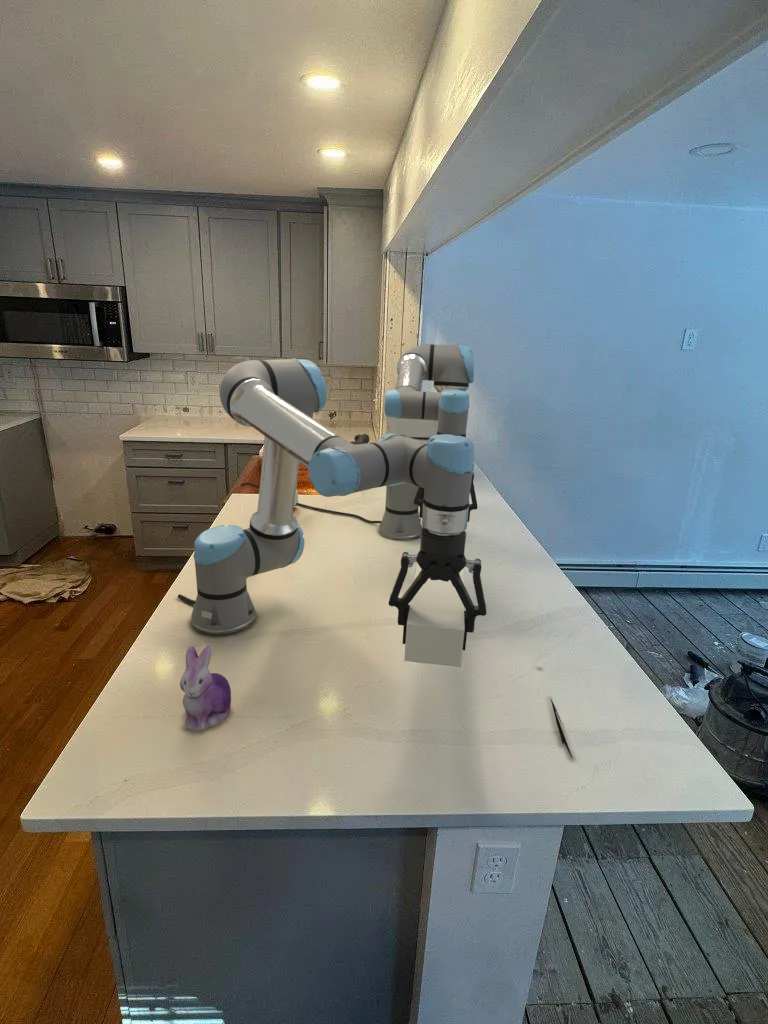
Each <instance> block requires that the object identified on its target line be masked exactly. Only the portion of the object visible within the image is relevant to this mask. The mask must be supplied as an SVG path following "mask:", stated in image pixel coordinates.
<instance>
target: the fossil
mask: <svg viewBox="0 0 768 1024" xmlns="http://www.w3.org/2000/svg"><path fill="white" fill-rule="evenodd" d="M349 442H350V443H351V444H355V445H358V444H366V443H370V436H369V434H367V433H363V434H361V433H360V434H356V435H355V436H354V441H349Z"/></svg>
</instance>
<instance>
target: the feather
mask: <svg viewBox="0 0 768 1024" xmlns="http://www.w3.org/2000/svg"><path fill="white" fill-rule="evenodd" d="M539 669H541V666H540V667H539ZM549 697H550V702H551V706H552V710H553V714H554V718H555V722H556V726H557V729H558V732H559V737H560V740H561V744H562V745H564V746H565V748H566V750H567V751H568V753H569V755H570V757H571V758H573V756H572V753H571V750H570V748H569V745H570V747H572V744H571V740H569V741H568V742H567V740H566V739H567V738H569V735H567V732H566V727H564V723H563V721H562V720H561V717H560V715H559V713H558V710H557V708H556V706H555V704H554V702H553V699H552V697H551V696H549ZM566 735H567V738H566ZM568 743H569V744H568Z"/></svg>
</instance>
